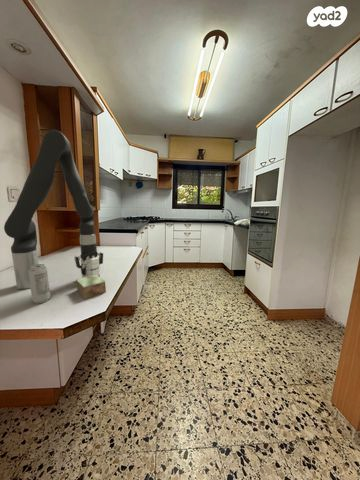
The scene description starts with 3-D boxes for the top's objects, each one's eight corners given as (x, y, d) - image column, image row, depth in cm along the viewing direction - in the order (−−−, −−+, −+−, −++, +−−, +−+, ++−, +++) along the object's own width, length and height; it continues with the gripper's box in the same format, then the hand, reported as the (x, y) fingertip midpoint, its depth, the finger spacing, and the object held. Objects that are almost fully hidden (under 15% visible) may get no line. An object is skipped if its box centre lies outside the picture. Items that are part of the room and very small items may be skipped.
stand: (85, 298, 79) (84, 287, 78) (77, 290, 87) (76, 279, 86) (106, 292, 85) (105, 281, 84) (96, 284, 93) (96, 274, 92)
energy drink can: (46, 295, 82) (41, 262, 79) (53, 299, 79) (49, 265, 76) (29, 301, 77) (24, 266, 74) (37, 305, 74) (31, 269, 71)
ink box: (100, 278, 101) (99, 257, 99) (93, 282, 96) (91, 260, 94) (89, 276, 105) (87, 255, 102) (81, 279, 100) (79, 257, 98)
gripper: (75, 245, 89) (78, 279, 92) (105, 242, 99) (107, 272, 102) (70, 243, 95) (73, 274, 98) (99, 240, 104) (101, 268, 108)
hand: (90, 273), depth 100 cm, fingers closed on ink box, 6 cm apart
